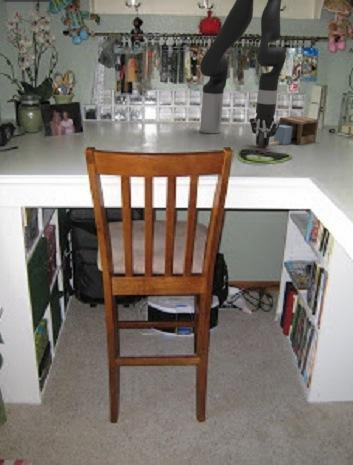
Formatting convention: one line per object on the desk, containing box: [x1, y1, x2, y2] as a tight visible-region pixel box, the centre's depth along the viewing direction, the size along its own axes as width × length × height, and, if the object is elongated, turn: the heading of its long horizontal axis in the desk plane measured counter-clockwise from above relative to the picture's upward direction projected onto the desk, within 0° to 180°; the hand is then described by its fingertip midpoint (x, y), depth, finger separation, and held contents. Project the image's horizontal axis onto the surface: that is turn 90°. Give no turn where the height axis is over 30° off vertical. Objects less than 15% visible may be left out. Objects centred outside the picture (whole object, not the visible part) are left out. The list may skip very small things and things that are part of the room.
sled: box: [257, 125, 293, 149], centre depth 193 cm, size 18×5×7 cm, turn 131°
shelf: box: [278, 115, 319, 146], centre depth 201 cm, size 12×11×10 cm
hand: (261, 145), depth 189 cm, fingers closed on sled, 3 cm apart
